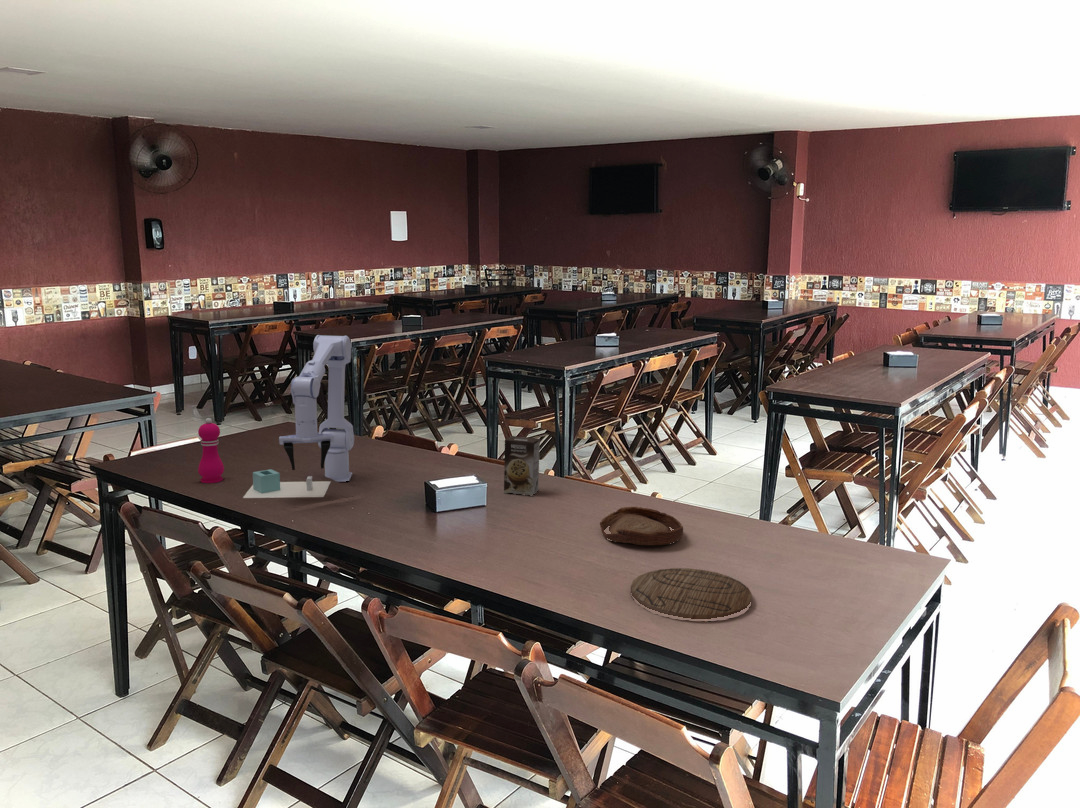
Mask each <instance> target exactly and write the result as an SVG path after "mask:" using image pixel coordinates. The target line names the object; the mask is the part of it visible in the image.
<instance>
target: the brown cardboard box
mask: <svg viewBox="0 0 1080 808" xmlns="http://www.w3.org/2000/svg"><path fill="white" fill-rule="evenodd" d="M540 445H541V438H537V437H536V438H535V437H527V436H519V435H518V436H517V435H511V436H509V437H507V438H505V440H504V462H503V463H504V464H503V465H504V466H503V469H504V470H503V472H504V473H503V474H504V475H503V494H507V493H514V494H513V495H516V494H525V495H533V494H535V493H536V492H537V491H538V490H539V479H540ZM539 491H540V490H539ZM539 491H538V492H539ZM538 492H537V493H538ZM537 493H536V494H537ZM536 494H535V495H536ZM525 495H524V496H525ZM533 496H534V495H533Z"/></svg>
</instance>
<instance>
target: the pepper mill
mask: <svg viewBox="0 0 1080 808" xmlns="http://www.w3.org/2000/svg"><path fill="white" fill-rule="evenodd" d="M197 431H198V433H197V434H198V437H199V438H201V439H200V445H201V446H202V455H201V458H200V461H199V464H198V468H197V472H198V475H200V477H201V478H200V479H199V480H200V482H201V483H203V484H204V483H205V484H214V483H220V482H222V481H223V479H224V478H223V476H222V475H223V473H224V472H225V466H224V463H223V461H222V459H221V457H220V455H219V450H218V445H219V444H220V442H219V437H220V434H221V429H220V427H219V425H217V424H216V423H214V422H213V419H212V418H210V417H207V418H206V419H205V423H203V424H201V425H200V426H199V428H198V429H197Z"/></svg>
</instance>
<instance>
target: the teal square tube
mask: <svg viewBox="0 0 1080 808" xmlns="http://www.w3.org/2000/svg"><path fill="white" fill-rule="evenodd" d="M280 475H281V473H280V472H278V471H277V470H274V469H272V468H271V469H265V470H258V471H252V485H253V489H254V490H256V491H258V492H260V493H261V494H262V493H267V492H273V491H278V490H280V482H281V476H280Z"/></svg>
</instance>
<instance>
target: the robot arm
mask: <svg viewBox="0 0 1080 808" xmlns="http://www.w3.org/2000/svg"><path fill="white" fill-rule="evenodd" d="M313 352H314V354H313V357H312V359H311V360H308V361H307V362H306V363H305V365H304V367H303V368H302V370H301V372H300V374H299V375H298V376H296V377H294V378H292V380H291V383H290V393H291V396H292V397H291V398H292V403H293V405H294V416H295V417H294V419H295V434H290V435H289V434H288V435H283V436H282V435H281V436H279V437H278V441H279V445H281V446H283V448H284V451H285V453H286V454H287V457H288V459H289V461H290V465H291V470H292V471H295V470H296V468H295V467H296V466H295V458H294V444H309V443H310V444H313V443H315V444H316V443H317V445H318V447H319V449H320V468H321V469H324V477H326V478H327V479H330V480H333V481H335V482H337V483H342V482H343V483H344V482H346V481H349V482H350V481H351V478H352V476H353V472H351V471H350V460H349V459H350V457H349V455H350V454H349V451H351V450H352V449H353V447H354V443H355V433H354V425H353V424H352V423H351V422H350V421H349V420H347V419H346V418H345V383H346V365H348V364H349V363H351V359H352V342H351V339H350V337H349V336H348V335H321V334H317V335H316V336H315V337H314V340H313ZM326 365H327V367H328V379H327V381H328V382H327V383H328V387H327V391H328V392H327V419H325V420H324V421H322V422H320V424H319V426H318V415H317V414H318V411H317V410H318V408H317V407H318V406H317V398H318V397H319V395H320V390H321V389H320V388H321V381H322V379H323V377H324V375H325V374H326V368H325V366H326ZM318 427H319V429H318ZM346 483H347V482H346Z"/></svg>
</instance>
